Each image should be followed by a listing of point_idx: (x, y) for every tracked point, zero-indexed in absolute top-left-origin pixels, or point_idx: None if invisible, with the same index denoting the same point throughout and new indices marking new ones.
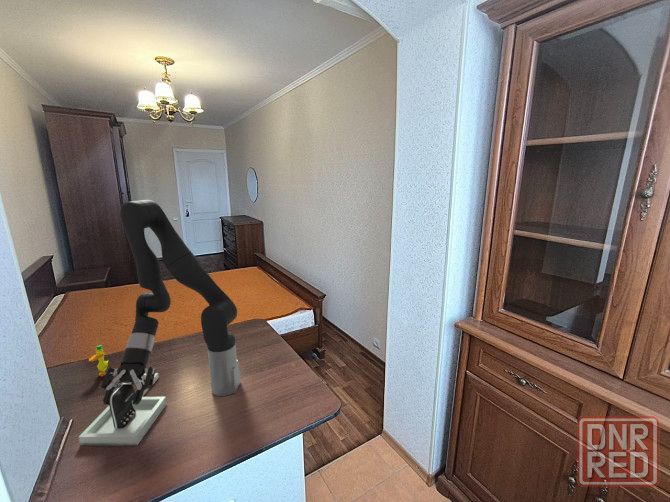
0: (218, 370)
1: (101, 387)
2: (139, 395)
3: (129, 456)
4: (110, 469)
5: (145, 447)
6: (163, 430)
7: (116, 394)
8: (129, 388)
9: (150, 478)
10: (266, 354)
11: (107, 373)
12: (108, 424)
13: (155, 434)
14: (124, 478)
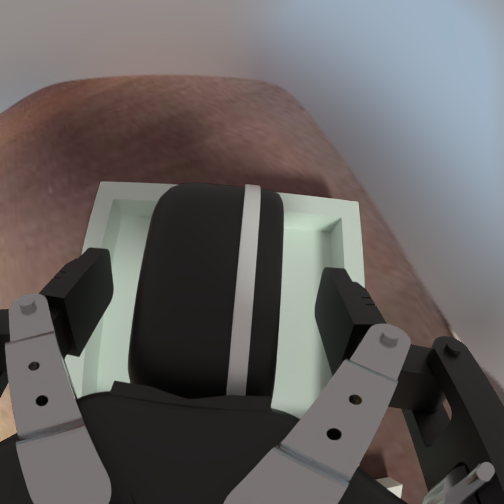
0: None
1: (452, 338)
2: (54, 282)
3: (125, 163)
4: (167, 126)
5: (84, 194)
6: (42, 268)
7: (213, 202)
8: (134, 327)
9: (56, 110)
10: None
11: None
12: (299, 316)
13: (64, 250)
14: (116, 106)
